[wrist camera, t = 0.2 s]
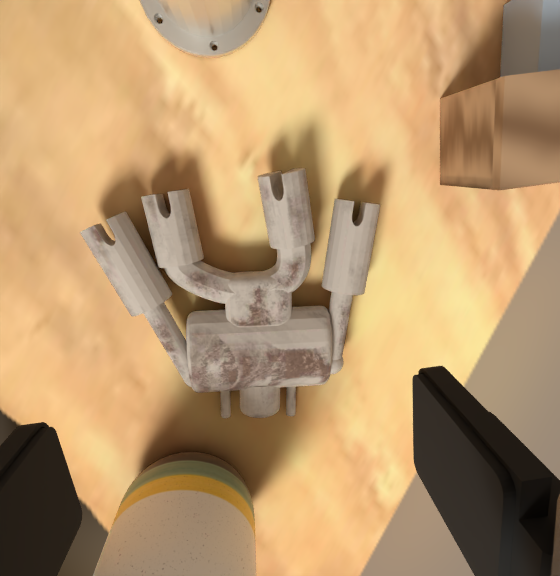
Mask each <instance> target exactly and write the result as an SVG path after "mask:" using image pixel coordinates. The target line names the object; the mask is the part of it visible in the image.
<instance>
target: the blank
mask: <svg viewBox="0 0 560 576" xmlns="http://www.w3.org/2000/svg"><path fill="white" fill-rule="evenodd" d="M558 69H560V0H511V1H509V2H508V3H506V4H505V5H504V11H503V30H502V50H501V70H500V77H503V76H508V75H516V74H524V73H533V72H541V71H549V70H558Z"/></svg>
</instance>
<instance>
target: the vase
mask: <svg viewBox="0 0 560 576" xmlns="http://www.w3.org/2000/svg"><path fill="white" fill-rule="evenodd" d="M93 576H256V547H255V520H254V508H253V503H252V498H251V495H250V492H249V490H248V487H247V485H246V483H245V482H244V480H243V478H242V477H241V475H240V474H239V473H238V472H237V471H236V470H235V469H234V468H233V467H232V466H231V465H230V464H228V463H227V462H225V461H224V460H222V459H220V458H218V457H215V456H213V455H209V454H205V453H199V452H183V453H176V454H172V455H169V456H166V457H164V458H162V459H160V460H158V461H156V462H154V463H153V464H151V465H150V466H148V467H147V468H146V469H145V470H144V471H143V472H141V473H140V475H139V476H138V477H137V478H136V479H135V480H134V481H133V483H132V484H131V485H130V487H129V488H128V490H127V492H126V494H125V495H124V497H123V500H122V502H121V504H120V506H119V509H118V512H117V514H116V517H115V519H114V522H113V524H112V527H111V530H110V532H109V535H108V537H107V540H106V543H105V545H104V548H103V551H102V553H101V556H100V559H99V561H98V564H97V567H96V569H95V572H94V575H93Z"/></svg>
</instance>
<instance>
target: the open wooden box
mask: <svg viewBox="0 0 560 576" xmlns="http://www.w3.org/2000/svg"><path fill="white" fill-rule="evenodd" d="M558 182H560V69H558V70H549V71H541V72H533V73H524V74H516V75H508V76H503V77H500V78H497V79H494V80H492V81H489V82H486V83H483V84H480V85H477V86H474V87H472V88H469V89H466V90H463V91H460V92H457V93H455V94H452V95H449V96H446V97H443V98H440V185H449V186H460V187H470V188H481V189H492V190H506V189H513V188H521V187H528V186H536V185H543V184H551V183H558Z"/></svg>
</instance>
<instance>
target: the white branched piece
mask: <svg viewBox="0 0 560 576" xmlns="http://www.w3.org/2000/svg"><path fill="white" fill-rule="evenodd" d="M258 182H259V187H260V193H261V198H262V204H263V210H264V215H265V221H266V227H267V232H268V238H269V243H270V247H271V248H274V249H277V262H276V264H275V265H274V266H273V267H272V268H270V269H268V270H265V271H252V272H236V273H232V272H227V271H224V270H220V269H217V268H215V267H212V266H210V265H208V264H206V263H204V262H202V261H201V260H202V259H203V258H204V256H203V251H202V246H201V242H200V237H199V233H198V228H197V223H196V219H195V214H194V209H193V205H192V200H191V196H190V191H189V189H184V190H178V191H171V192H168V197H169V201H170V206H171V214H170V213H169V212H168V210H167V208H166V205H165V201H164V197H163V194H154V195H148V196H143V197H141V199H142V203H143V207H144V211H145V215H146V219H147V223H148V227H149V231H150V235H151V239H152V243H153V247H154V251H155V255H156V259H157V263H158V267H159V268H164V270H165V272H166V274H167V275H168V277H169V278H170V279H171V280H172V281H173V282H174V283H176V284H177V285H178V286H180V287H182V288H183V289H185V290H187V291H189V292H191V293H193V294H195V295H197V296H200V297H202V298H205V299H208V300H211V301H214V302H218V303H223V304H225V310H208V311H194V312H191V313H190V314H189V315H188V317H187V325H186V340H185V338H184V336H183V334H182V333H181V331H180V329H179V327H178V326H177V324H176V322H175V321H174V319H173V317H172V315H171V314H170V312H169V310H168V308H167V307H166V305H165V303H164V302H165V301H166V300H167V299H168V298H169V297H170V296H171V295H172V292H171V290H170V289H169V287H168V285H167V283H166V281H165V280H164V278H163V276H162V274H161V273H160V271H159V269H158V267H157V266H156V264H155V262H154V260H153V259H152V257H151V255H150V253H149V251H148V250H147V248H146V246H145V244H144V243H143V241H142V239H141V237H140V236H139V234H138V232H137V230H136V229H135V227H134V225H133V223H132V221H131V220H130V218H129V216H128V214H127V213H126V211H125V212H122V213H120V214H118V215H115V216H113V217H111V218H109V219H107V220H106V221H107V223H108V224H109V226H110V228H111V230H112V231H113V233H114V235H115V240H116V242H115V241H113V240H112V239H111V238H110V237H109V236H108V235H107V233H106V231H105V230H104V228H103V226H102V225H101V224H97V225H94V226H92V227H89V228H87V229H85V230H83V231H81V232H80V233H81V235H82V237H83V238H84V240H85V241H86V243H87V245H88V246H89V248H90V250H91V251H92V253H93V255H94V256H95V258H96V259H97V261H98V263H99V264H100V266H101V268H102V269H103V271H104V272H105V274H106V276H107V277H108V279H109V281H110V282H111V284H112V285H113V287H114V289H115V290H116V292H117V294H118V295H119V297H120V299H121V300H122V302H123V303H124V305H125V307H126V308H127V310H128V312H129V313H130V315H131V316H137V315H140V314H142V313H144V315H145V317H146V318H147V320H148V322H149V323H150V325H151V327H152V328H153V330H154V332H155V333H156V335H157V337H158V338H159V340H160V342H161V343H162V345H163V347H164V348H165V350H166V352H167V353H168V355H169V357H170V358H171V360H172V362H173V363H174V365H175V367H176V368H177V370H178V372H179V373H180V375H181V377H182V378H183V380H184V382H185V383H186V384H187V385H188V386H189V387H192V389H193V390H194V391H195V392H199V393H201V392H217V391H220V399H221V417H222V418H229V417H230V416H231V403H230V391H233V390H240V410H241V412H242V413H243V414H245V415H247V416H249V417H254V418H264V417H269V416H272V415H274V414H276V413H277V412H278V411H279V409H280V387H286V415H287V416H295V413H296V386H311V385H323V384H325V383H326V382H327V381H328V379H329V377H330V374H335V373H337V372H339V371H340V370H341V369H342V366H343V357H342V354H343V348H344V343H345V337H346V331H347V325H348V320H349V314H350V308H351V302H352V297H353V295H362V294H364V292H365V286H366V281H367V275H368V270H369V264H370V259H371V253H372V248H373V242H374V237H375V231H376V226H377V220H378V215H379V209H380V204H374V203H367V202H361V203H360V209H359V214H358V217H357V219H356V221H355V222H352V212H353V206H354V201H351V200H343V199H335V201H334V208H333V214H332V221H331V227H330V234H329V240H328V247H327V254H326V260H325V267H324V273H323V280H322V287H323V288H324V289H326V290H328V291H331V298H330V304H329V310H327V308H326V307H324V306H301V307H292V292H294V291H295V290H296V289H297V288H298V287H299V286H300V285H301V284H302V283H303V281H304V280H305V278H306V276H307V274H308V271H309V268H310V263H311V244H310V243H312V242H313V241H314V240H315V236H314V228H313V221H312V214H311V206H310V199H309V192H308V184H307V177H306V170H305V168H296V169H291V170H289V171H287V172H285V173H283V174H282V172H281V171H276V172H271V173H267V174H263V175H260V176H258Z"/></svg>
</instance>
